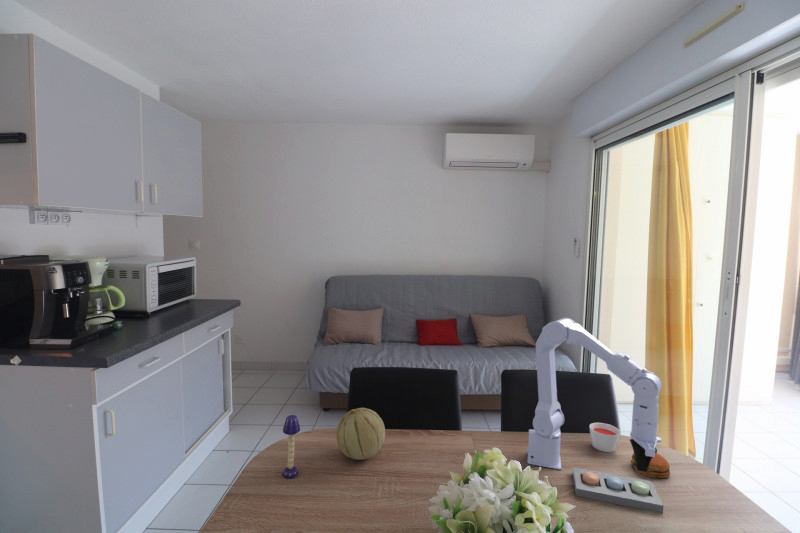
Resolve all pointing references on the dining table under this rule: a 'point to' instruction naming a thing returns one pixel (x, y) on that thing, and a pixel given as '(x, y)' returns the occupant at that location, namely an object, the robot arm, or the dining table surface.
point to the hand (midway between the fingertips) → (641, 469)
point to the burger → (655, 467)
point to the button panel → (617, 491)
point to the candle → (604, 436)
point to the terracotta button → (590, 478)
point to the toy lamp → (291, 444)
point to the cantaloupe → (360, 433)
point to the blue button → (614, 483)
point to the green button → (640, 488)
